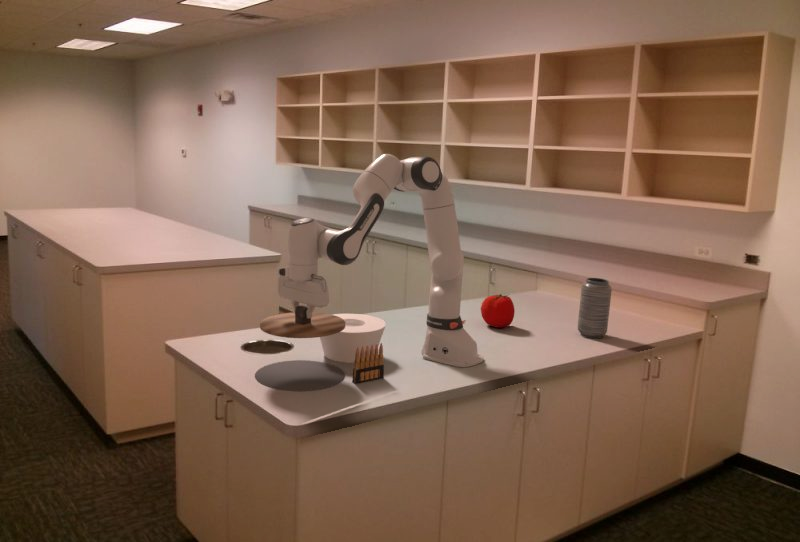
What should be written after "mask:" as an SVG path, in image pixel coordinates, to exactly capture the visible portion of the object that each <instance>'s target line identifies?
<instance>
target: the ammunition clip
mask: <svg viewBox="0 0 800 542" xmlns="http://www.w3.org/2000/svg"><path fill="white" fill-rule="evenodd" d="M383 347H384V346H383V343H382V342H380V343H379V346H378V345H377V344H376V346H375V352H374V348H373V345H371V348H370V356H369V347H368V345H367V347H366V350H365V358H364V348H363V346H362V348H361V352H360V359H359V348H358V347H357V349H356V355H355V362H354V363H353V365H354V367H353V369H352V383H354V385H359V384H363V383H367V382H373V381H377V380H382V379H384V378H385V375H384V374H385V366H384V348H383Z"/></svg>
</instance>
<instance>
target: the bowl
mask: <svg viewBox="0 0 800 542" xmlns="http://www.w3.org/2000/svg"><path fill="white" fill-rule="evenodd" d="M332 315H335V316H338V317H340V318H342V319H343V320H344V321H345V328H344V330H342V331H341V332H339V333H336V334H333V335H329V336H324V337H319V340H320V343H321V347H322V350H323V355H324V357H325V358H327V359H329V360H330V361H335V362H339V363H349V364H351V363H352V364H354V362H355V355H356V349H357V347H358V348H359V359H360V352H361V348H362V346H363V348H364V358H365V350H366V347H367V345H368V347H369V356H370V348H371V345H373V348H374V352H375V346H376V344H377V345H378V347H380V344H381V340H382V336H383V334H384V331H385V328H386V325H387V324H386V322H385V320H383V319H382V318H379V317H376V316H373V315H368V314H362V313H361V314H360V313H334V314H333V313H332Z"/></svg>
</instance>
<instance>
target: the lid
mask: <svg viewBox="0 0 800 542" xmlns="http://www.w3.org/2000/svg"><path fill="white" fill-rule="evenodd" d="M307 309H308V308H307V305H306V304H302V305H299V306H297V307H295V314H294V311H293V312H285V313H284V312H283V313H279V314H274V315H270V316H267V317H265V318H263V319H262V320H261V321H260V322H259V328H260V330H261V331H262V332H263V333H266V334H267V335H271V336H275V337H278V338H279V337H280V338H285V339H286V338H287V339H314V338H320V337H324V336H329V335H333V334H336V333H339V332H341V331H342V330H344V328H345V321H344V320H343V319H342V318H340V317H338V316H335V315H333V314H330V313H323V312H317V311H316V312H315V311H313V312H312V318H305V312H307Z"/></svg>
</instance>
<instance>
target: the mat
mask: <svg viewBox="0 0 800 542" xmlns="http://www.w3.org/2000/svg"><path fill="white" fill-rule="evenodd" d="M254 378H255V380H256V381H257V382H258V383H259V384H260V385H263V386H264V387H267V388H271V389H274V390H279V391H284V392H286V391H287V392H314V391H321V390H326V389H329V388H332V387H335V386H337V385H339V384H341V383H342V382H343V381H344V380H345V379H346V373H345V371H344V370H343V369H342V368H340V367H339V366H336V365H334V364H330V363H327V362H322V361H318V360H317V361H316V360H305V359H304V360H303V359H300V360H299V359H298V360H297V359H296V360H293V359H292V360H286V361H285V360H284V361H277V362H274V363H273V362H272V363H270V364H267V365H264V366H263V367H260V368H259V369H258V370H256V372H255V373H254Z"/></svg>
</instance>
